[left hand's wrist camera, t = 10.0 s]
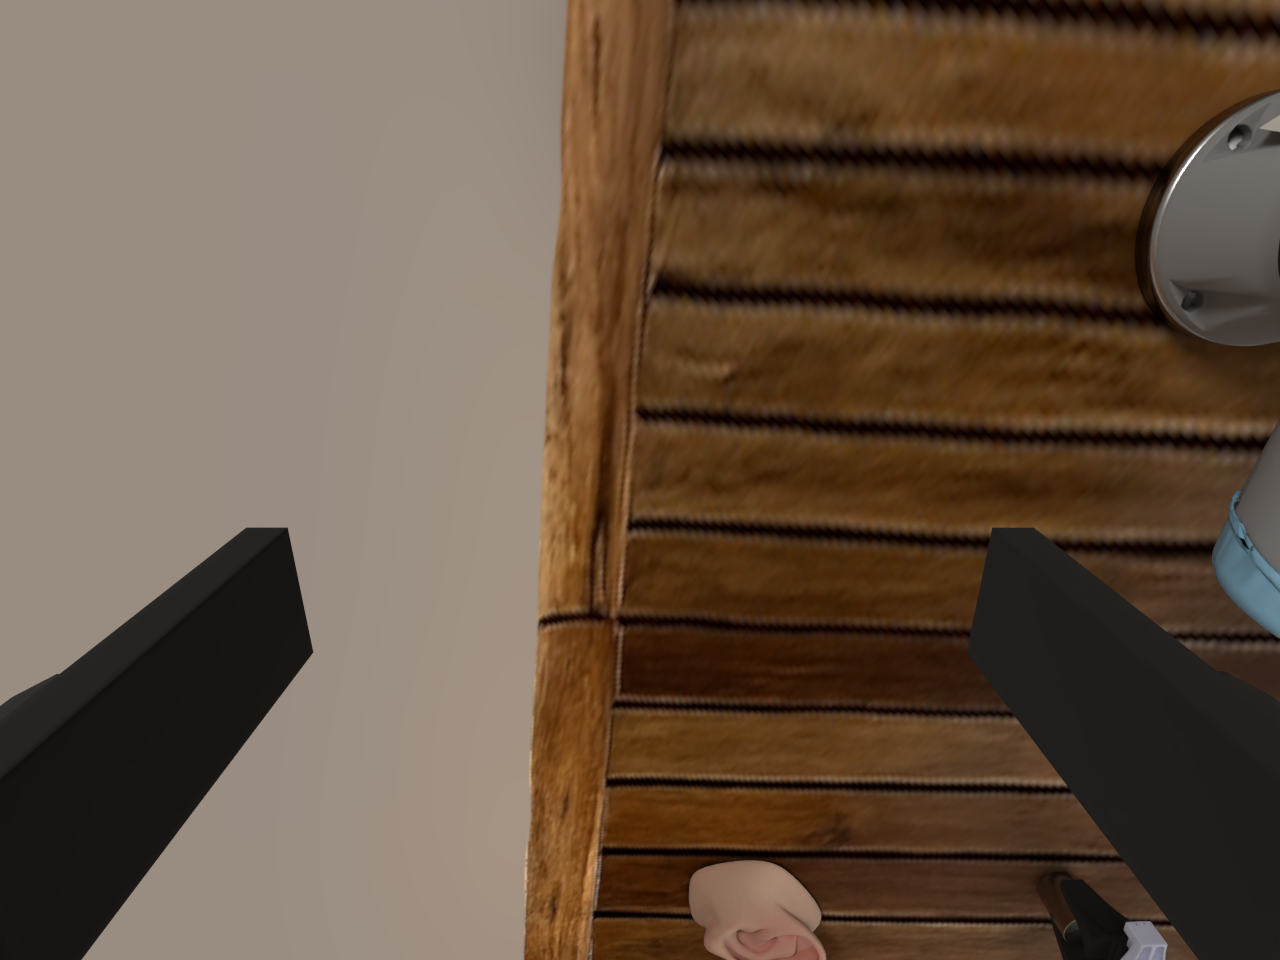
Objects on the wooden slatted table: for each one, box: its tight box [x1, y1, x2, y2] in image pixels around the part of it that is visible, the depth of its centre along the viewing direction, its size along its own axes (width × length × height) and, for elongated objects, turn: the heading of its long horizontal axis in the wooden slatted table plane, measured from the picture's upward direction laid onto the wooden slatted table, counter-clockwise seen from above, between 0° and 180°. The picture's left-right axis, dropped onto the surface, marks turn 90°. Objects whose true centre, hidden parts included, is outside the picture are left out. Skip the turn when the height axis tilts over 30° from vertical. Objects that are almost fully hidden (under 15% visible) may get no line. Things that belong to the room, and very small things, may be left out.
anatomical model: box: [689, 860, 826, 960], centre depth 64 cm, size 13×4×12 cm
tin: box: [1037, 872, 1084, 947], centre depth 63 cm, size 4×4×4 cm
